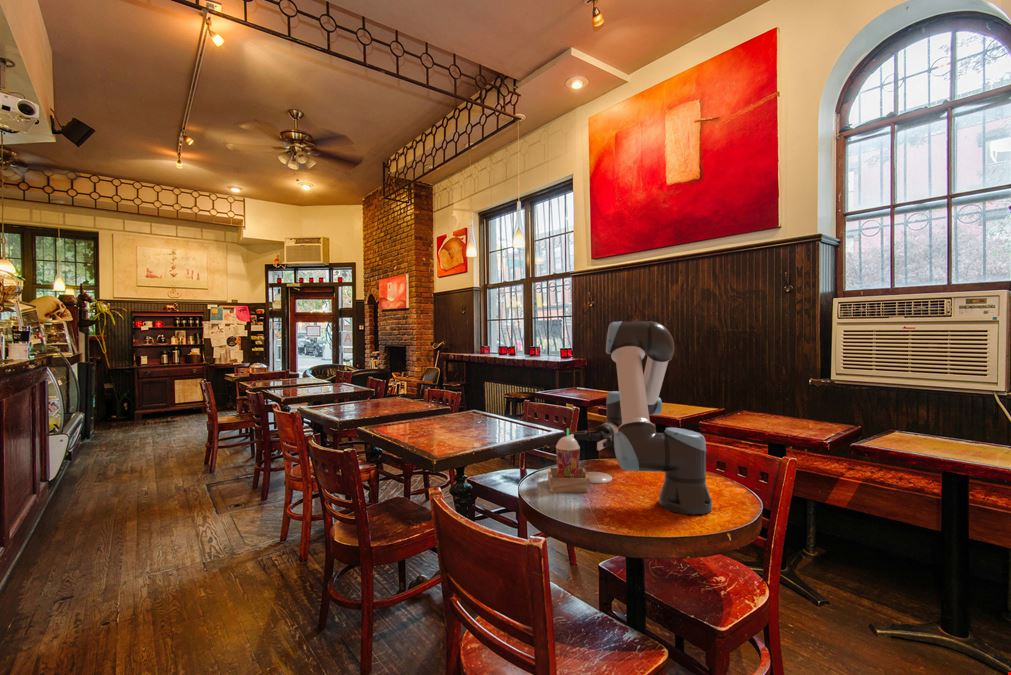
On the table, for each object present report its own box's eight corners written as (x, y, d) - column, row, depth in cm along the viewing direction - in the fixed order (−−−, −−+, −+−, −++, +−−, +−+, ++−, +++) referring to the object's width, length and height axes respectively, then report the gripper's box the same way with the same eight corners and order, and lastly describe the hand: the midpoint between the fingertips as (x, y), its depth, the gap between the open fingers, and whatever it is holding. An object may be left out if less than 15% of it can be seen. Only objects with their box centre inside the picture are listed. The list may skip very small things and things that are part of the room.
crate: (589, 492, 154) (589, 478, 154) (550, 491, 155) (550, 478, 155) (583, 480, 167) (583, 467, 167) (547, 479, 168) (547, 467, 168)
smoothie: (578, 482, 165) (578, 426, 165) (581, 489, 157) (581, 431, 157) (554, 482, 165) (554, 426, 165) (556, 489, 157) (556, 430, 157)
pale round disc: (615, 483, 163) (615, 481, 163) (581, 483, 164) (581, 481, 164) (608, 473, 175) (608, 471, 175) (576, 473, 176) (576, 471, 176)
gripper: (635, 447, 179) (613, 459, 162) (577, 438, 194) (551, 448, 177) (635, 427, 178) (613, 438, 161) (577, 420, 193) (551, 429, 176)
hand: (580, 443), depth 169 cm, fingers open, 13 cm apart
